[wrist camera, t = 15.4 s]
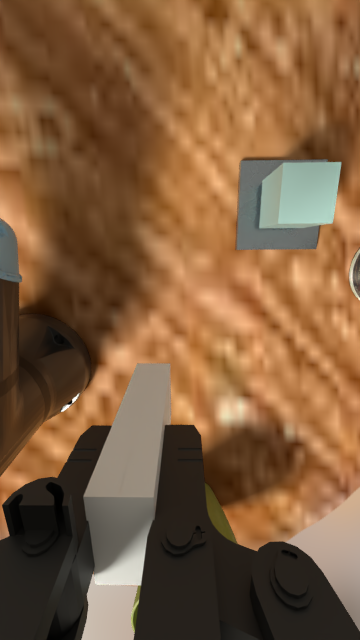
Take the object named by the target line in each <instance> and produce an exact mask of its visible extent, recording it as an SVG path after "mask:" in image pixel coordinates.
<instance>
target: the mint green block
mask: <svg viewBox="0 0 360 640" xmlns="http://www.w3.org/2000/svg"><path fill="white" fill-rule="evenodd" d="M340 169H341V162H302V163H283V164H281V165H280V166H279V167H278V168H277V169H276V170H274V171H273V172H272V173H271V174H270V175H268V176H267V177H266V178H265V179H264V180H263V181H262V195H261V209H260V223H259V228H306V227H312V226H319V225H325V224H331V223H333V218H334V211H335V204H336V197H337V190H338V183H339V176H340Z"/></svg>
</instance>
